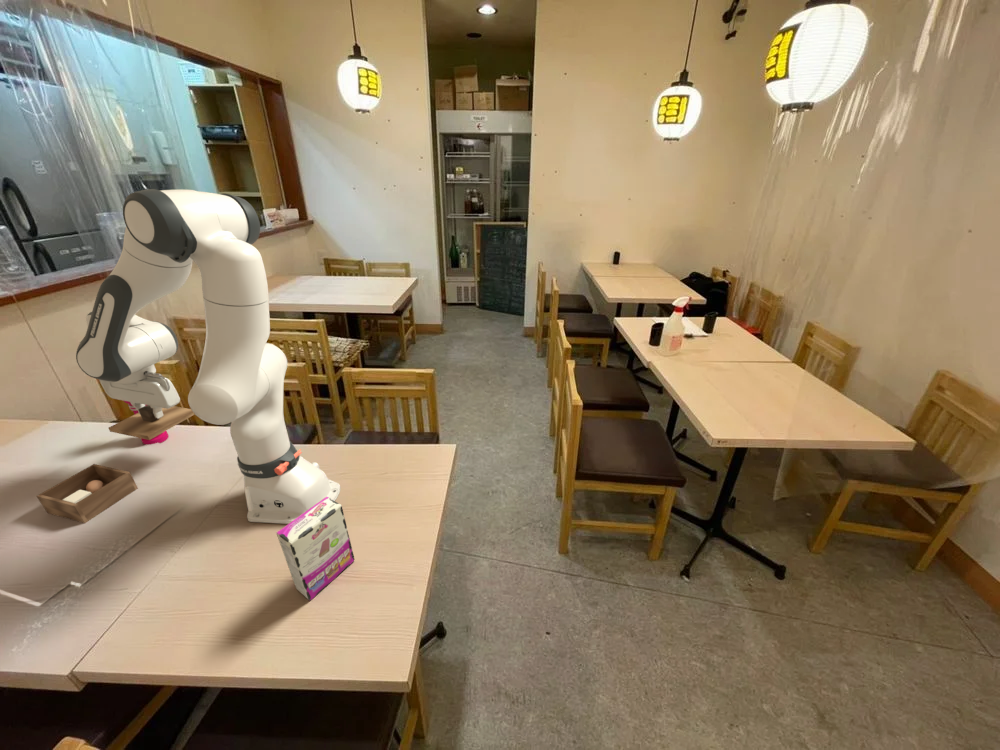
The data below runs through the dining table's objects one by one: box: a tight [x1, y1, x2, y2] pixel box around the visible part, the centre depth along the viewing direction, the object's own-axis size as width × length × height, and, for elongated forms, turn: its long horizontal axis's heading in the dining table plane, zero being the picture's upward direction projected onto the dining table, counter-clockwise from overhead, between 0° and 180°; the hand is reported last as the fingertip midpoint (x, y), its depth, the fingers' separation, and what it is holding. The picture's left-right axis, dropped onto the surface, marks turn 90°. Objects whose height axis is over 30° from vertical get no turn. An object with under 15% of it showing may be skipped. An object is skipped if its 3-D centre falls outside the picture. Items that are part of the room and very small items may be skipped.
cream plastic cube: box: [63, 490, 92, 504], centre depth 97 cm, size 4×4×4 cm
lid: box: [108, 405, 196, 440], centre depth 106 cm, size 13×13×5 cm
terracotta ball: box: [86, 480, 104, 493], centre depth 102 cm, size 3×3×3 cm
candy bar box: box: [275, 497, 356, 601], centre depth 79 cm, size 11×5×16 cm, turn 148°
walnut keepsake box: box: [36, 463, 139, 524], centre depth 98 cm, size 12×12×6 cm
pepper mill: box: [122, 400, 169, 446], centre depth 118 cm, size 7×7×20 cm
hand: (152, 415), depth 107 cm, fingers closed on lid, 3 cm apart
